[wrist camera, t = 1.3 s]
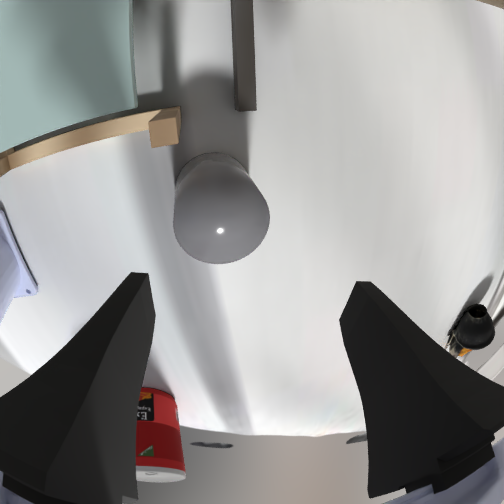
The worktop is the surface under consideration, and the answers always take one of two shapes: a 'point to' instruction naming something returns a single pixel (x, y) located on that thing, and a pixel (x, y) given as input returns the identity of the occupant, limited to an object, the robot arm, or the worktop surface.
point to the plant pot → (494, 3)
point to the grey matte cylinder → (218, 210)
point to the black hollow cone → (472, 331)
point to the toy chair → (162, 120)
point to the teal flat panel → (63, 64)
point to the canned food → (158, 438)
